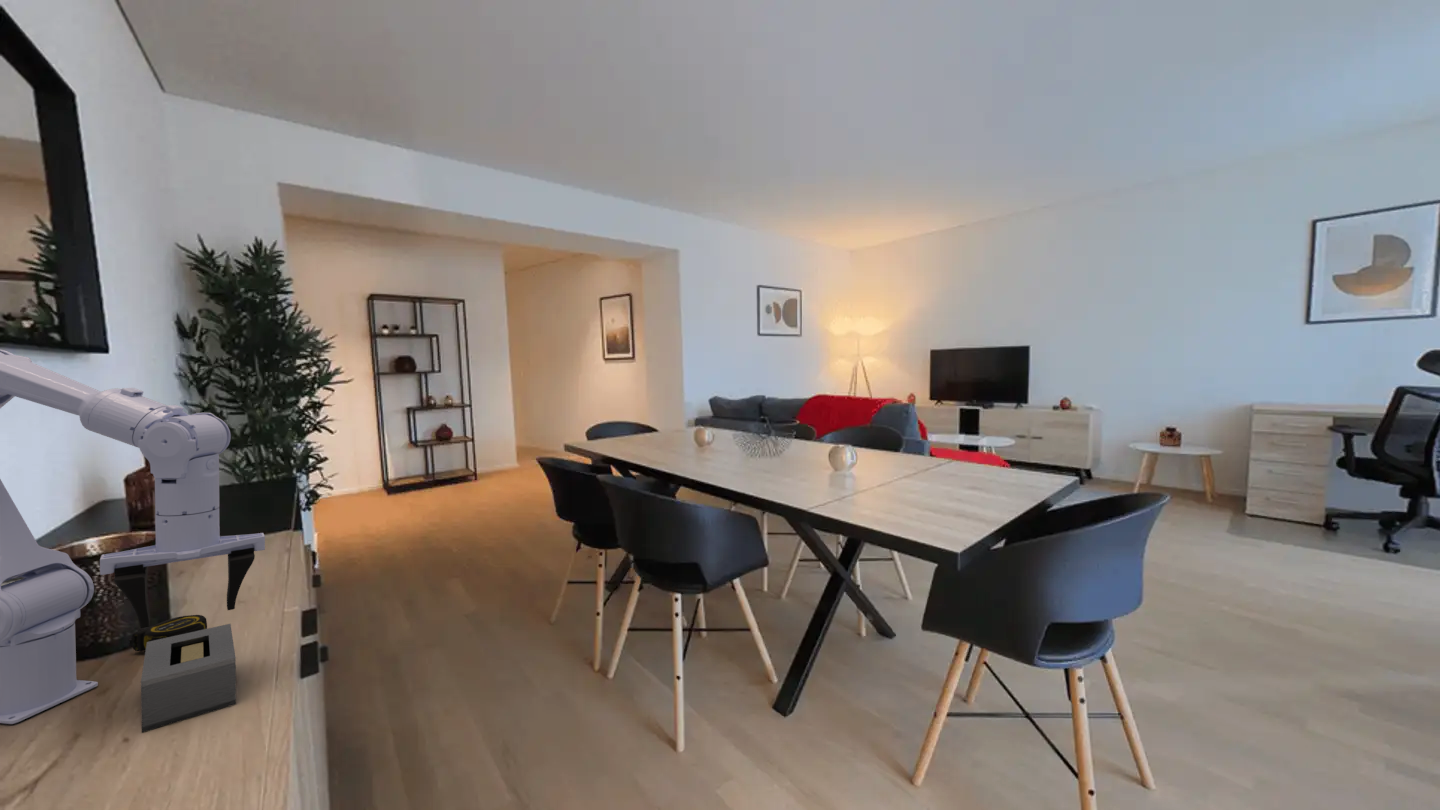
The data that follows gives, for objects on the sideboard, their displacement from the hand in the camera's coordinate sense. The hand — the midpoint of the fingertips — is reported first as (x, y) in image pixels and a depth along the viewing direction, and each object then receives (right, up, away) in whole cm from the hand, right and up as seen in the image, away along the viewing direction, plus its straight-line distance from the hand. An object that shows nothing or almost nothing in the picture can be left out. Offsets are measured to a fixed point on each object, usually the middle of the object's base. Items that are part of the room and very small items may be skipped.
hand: (189, 615), depth 67 cm
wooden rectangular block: (0, -10, +1) cm, 10 cm away
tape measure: (-15, -10, +12) cm, 21 cm away
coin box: (0, -10, +1) cm, 10 cm away
